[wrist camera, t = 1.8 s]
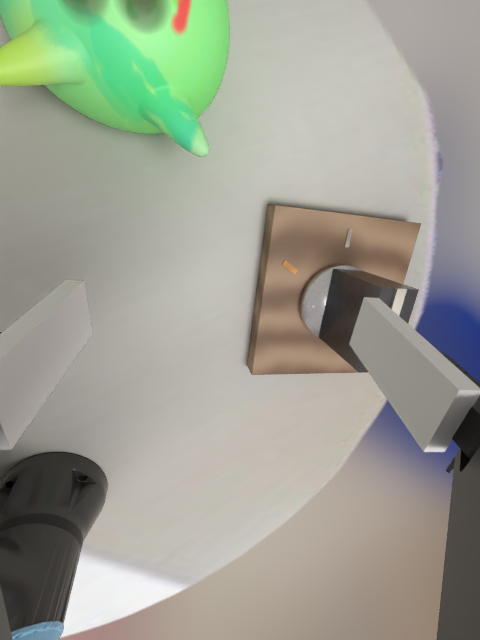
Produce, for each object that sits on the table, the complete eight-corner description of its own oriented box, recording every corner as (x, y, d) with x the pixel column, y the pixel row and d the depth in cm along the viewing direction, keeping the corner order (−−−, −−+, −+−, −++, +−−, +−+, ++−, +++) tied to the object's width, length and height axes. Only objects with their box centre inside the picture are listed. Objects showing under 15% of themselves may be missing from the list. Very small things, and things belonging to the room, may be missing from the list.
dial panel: (366, 363, 53) (377, 372, 50) (247, 365, 48) (252, 375, 45) (405, 222, 45) (422, 223, 42) (267, 205, 40) (275, 205, 37)
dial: (358, 336, 47) (415, 375, 36) (293, 336, 44) (333, 378, 33) (376, 266, 43) (446, 287, 32) (307, 261, 40) (357, 281, 30)
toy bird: (229, 1, 32) (275, -149, 18) (201, 173, 37) (222, 155, 23) (34, -85, 27) (-101, -379, 13) (33, 129, 32) (-63, 73, 18)
